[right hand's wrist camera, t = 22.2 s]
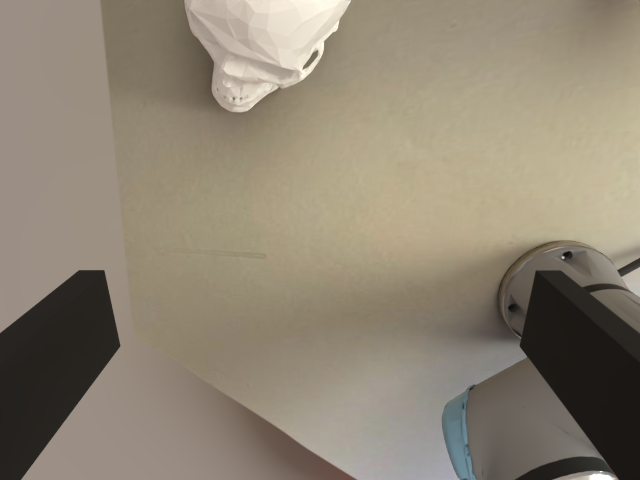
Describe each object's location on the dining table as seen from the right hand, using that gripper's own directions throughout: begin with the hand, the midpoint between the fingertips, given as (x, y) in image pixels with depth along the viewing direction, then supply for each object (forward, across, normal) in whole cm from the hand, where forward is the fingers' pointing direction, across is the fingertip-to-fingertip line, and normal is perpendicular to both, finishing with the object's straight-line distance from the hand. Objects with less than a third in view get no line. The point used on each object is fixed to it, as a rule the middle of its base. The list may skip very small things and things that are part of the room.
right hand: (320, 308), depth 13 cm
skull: (+39, +5, -13) cm, 42 cm away
